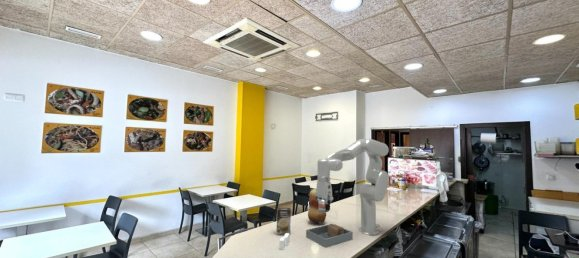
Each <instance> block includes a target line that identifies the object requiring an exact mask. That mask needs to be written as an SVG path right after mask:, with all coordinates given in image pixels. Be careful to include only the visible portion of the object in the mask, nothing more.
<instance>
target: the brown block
mask: <svg viewBox="0 0 579 258" xmlns="http://www.w3.org/2000/svg"><path fill="white" fill-rule="evenodd" d="M332 224H333V225H329V224H328V225H329V226H328V236H330V237H335V236H338V235H342V234H344V229H345V228H344V227H343V226H340V225H337V224H335V223H332Z"/></svg>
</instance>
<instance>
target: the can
mask: <svg viewBox="0 0 579 258" xmlns="http://www.w3.org/2000/svg"><path fill="white" fill-rule="evenodd" d="M318 207H319V212H326V213H328V212H330V210H328V211H326V201H325V199H323V198H319V203H318Z"/></svg>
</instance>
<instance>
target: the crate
mask: <svg viewBox="0 0 579 258" xmlns="http://www.w3.org/2000/svg"><path fill="white" fill-rule="evenodd" d="M333 224H334V223H330V224H329V223H328V224H325V225H322V226H315V227H313V228H309V229H306V231H305V237H306V238H307V239H308V240H311V241H313V242H314V243H317V245H320V246H322V247H323V248H324V249H325V248H328V247H329V248H330V247H332V246H336V245H339V244H342V243H343V244H344V243H346V242H348V241H353V240H354V239H353V233H354V232H353V231H351V230H348V229H347V228H346V229H345V228H344V234H342V235H338V236H335V237H330V236H328V226H329V225H333Z"/></svg>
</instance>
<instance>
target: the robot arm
mask: <svg viewBox="0 0 579 258" xmlns="http://www.w3.org/2000/svg"><path fill="white" fill-rule="evenodd" d="M364 152H366V154H367V157H368V159H369V160H368V161H369V164H368V167H367V170H366V174H365V180H366V182H368V183H370V184H368V183H364V184H362V185H360V187H359V190H358V193H359V198H360V227H359V228H358V232H360V233H361V234H364V235H368V236H377V235H378V234H379V230H378V228H380V227H381V225H380V224H377V216H376V215H377V211H376V210H377V205H376V202H378V203H379V202H382V201H383V200H384V199H385V196H386V193H387V190H388V186H389V182H390V178H389V174H388V172H387V171H385V170H382V167H383V160H382V158H381V157H384V156H387V155H388V153H389V147H388V145H387V144H386V143H384V142H380V141H378V140H375V139H371V138H359V139H357V140H356V141H354V142H352V144H350V145H349V146H348V145H347V147H345V148H343V149H340V150H338V151H335V152H334V153H332V154H330V155H329V156H327V157H325V158H321V159H318V160H317V181H316V188H315V189H316V193H315V196H316V198H317V201H318V203H319V198H323V199H325V201H326V211H328V210H329V211H330V210H331V204H332V202H333V200H334V197H333V188H332V183H331V174H330V173H331V172H332V171H334V172H339V171H341V170H342V169H343V166H344V164H343V162H346V161H347V162H348V161H351V160H354V159H355V158H356V157H358V156H360V155H361V154H362V153H364ZM318 208H319V207H318Z"/></svg>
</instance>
